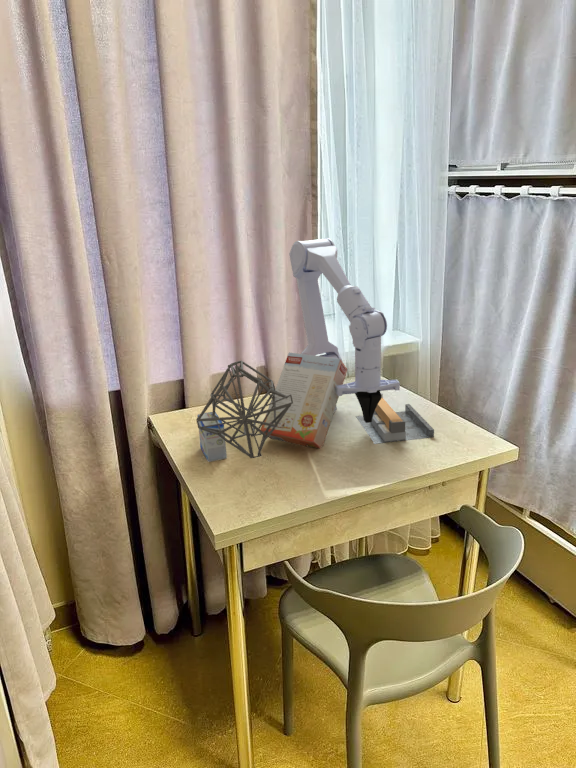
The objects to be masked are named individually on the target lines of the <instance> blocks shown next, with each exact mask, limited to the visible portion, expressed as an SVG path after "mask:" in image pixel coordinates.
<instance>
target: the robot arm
mask: <svg viewBox="0 0 576 768" xmlns="http://www.w3.org/2000/svg"><path fill="white" fill-rule="evenodd" d="M289 261H290V266H291V272H292V275H293V277H294V278H296V284H297V289H298V290H297V291H298V295H299V300H300V301H299V302H300V308H301V312H302V318H303V322H304V329H305V335H306V339H307V346H306V347H305V348H304V349H303V350H302V351H301V353H300V354H305V355H313V356H321V357H329V358H337V359H341V361H342V362H343V360H342V357H341V356H340V352H339V348H338V346H337V345H335V344H333V343H332V342H330V341H329V337H328V331H327V326H326V320H325V313H324V309H323V307H324V306H323V302H322V297H321V292H320V291H321V290H320V286H319V278H320V276H321V275H323V276H324V277H325V278H326V280H327V281H328V282H329V284H330V285H331V287H333V289H334V290H335V291H336V293H337V297H336V302H337V304H338V306H339V307H340V309H341V310H342V311H343V314H344V315H345V317H346V318H347V320H348V321H349V325H348V328H349V333H350V335H351V338H352V345H353V347H354V349H355V350H354V370H355V371H354V377H355V378H354V380H355V381H352V382H347V383H343V385H336V394H337V396H339V397H341V396H343V395H352V394H355V396H356V399H357V401H358V403H359V407H360V408H361V411H362V412H361V413H362V416H363V418H364V421H365V422H366V423H369V422H372V418H373V414H374V411H375V409H376V407H377V405H378V403H379V401H380V400H381V397H382V395H381V393H382V391H383V392H384V391H400V389H401V382H400V381H399V380H398V379H381V376H382V374H381V373H382V372H381V371H382V370H381V368H382V367H381V366H382V364H381V363H382V359H381V358H382V337H383V336H384V335H385V334H386V333H387V330H388V322H387V318H386V316H385V314H384V313H383V312H382V311H381V310H378V309H376V308H375V307H373V306H371V304H370V303H369V301H368V300H367V298H366V297H365V295H364V294H363V292H362V290H361V289H360V287H358V286H356V285H351V283H350V281H349V279H348V277H347V275H346V274H345V271H344V269H343V268H342V266H341V264H340V262H339V260H338V247H336V245H335V243H334V241H333V240H332V239H331V238H329V237H324V238H319V239H311V240H296V241H294V242H293V244H292V245H291V249H290V251H289ZM337 407H338V406H336V407H335V410H334V413H335V412H336V410H337Z"/></svg>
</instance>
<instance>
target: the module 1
mask: <svg viewBox="0 0 576 768" xmlns="http://www.w3.org/2000/svg"><path fill="white" fill-rule="evenodd" d="M371 424H372V425H373V427H374V428H375V429H376V431H378V425H380V424H385V422H384V421H383V420H382V419H381V417H380V416H379V415H378V414H374V415H373V418H372V422H371Z"/></svg>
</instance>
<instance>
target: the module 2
mask: <svg viewBox="0 0 576 768" xmlns="http://www.w3.org/2000/svg"><path fill="white" fill-rule="evenodd" d="M378 433H379V435H380V436H381V438H382V439H383V440H384V442H385V441H395V440H404V439H406V431H405V432H400V433H391V432H390V431H389V428H388V426H387V425H386V424H380V425H378Z"/></svg>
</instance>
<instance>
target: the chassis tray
mask: <svg viewBox="0 0 576 768" xmlns="http://www.w3.org/2000/svg"><path fill="white" fill-rule="evenodd" d="M404 405H405V410H403V411H395V412H396V414H397V415H398V416H399V417H400V418H401V419H404V421H405V431H406V439H404V440H395V441H385V442H384V440H383V439H382V438H381V436H380V435H379V433H378V431H376V429H375V428H374V427H373V425H372V424H371V422H369V423H366V422H365V421H364V418H363V415H356V416H355V417H356V419H357V420H358V422H359V424H360V425H361V426H362V428H363V429H364V431H365V432H366V434H367V435H368V437H369V438H370V440H371V441H372V442H373V445H376V444H377V445H378V444H385V443H386V444H387V443H395V442H396V443H397V442H403V441H413V440H422V439H423V440H424V439H432V438H434V437H435V429H434V428H433V427H432V426H431V425H430V423H429V422H427V420H425V419H424V417H423V416H422V415H421V414H420V413H419V412H418V411H417V410H416V409H415V408H414V407H413V406H412V405H411V404H410V403H407V404H404ZM374 414H377V412H376V411H374ZM374 414H373V415H374Z"/></svg>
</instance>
